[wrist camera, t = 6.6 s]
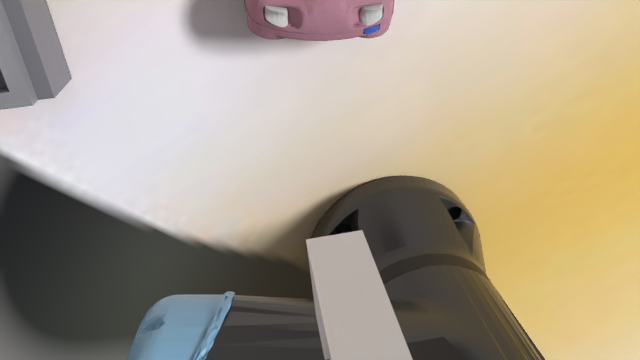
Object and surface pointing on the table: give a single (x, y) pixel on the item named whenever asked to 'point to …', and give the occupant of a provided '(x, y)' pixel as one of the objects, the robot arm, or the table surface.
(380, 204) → the robot arm
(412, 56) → the table surface
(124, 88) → the table surface
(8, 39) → the power strip
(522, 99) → the table surface
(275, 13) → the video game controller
